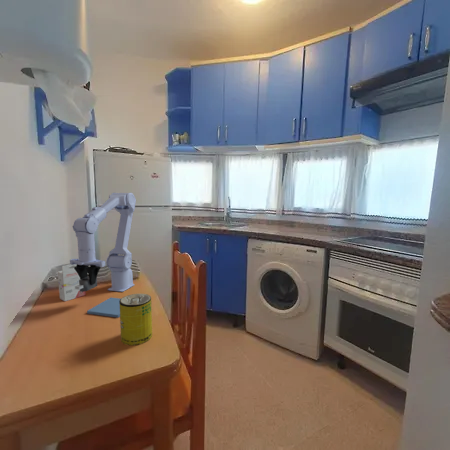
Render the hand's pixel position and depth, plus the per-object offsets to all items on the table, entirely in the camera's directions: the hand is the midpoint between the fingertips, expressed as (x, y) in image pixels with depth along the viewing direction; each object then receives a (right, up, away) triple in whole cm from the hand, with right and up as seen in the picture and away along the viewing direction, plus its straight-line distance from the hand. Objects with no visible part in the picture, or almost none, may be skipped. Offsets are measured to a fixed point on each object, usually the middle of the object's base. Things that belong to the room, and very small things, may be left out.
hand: (88, 283), depth 103 cm
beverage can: (+26, -12, -22) cm, 36 cm away
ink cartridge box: (-11, -8, +9) cm, 17 cm away
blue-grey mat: (+11, -9, -2) cm, 14 cm away
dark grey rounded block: (0, -2, 0) cm, 2 cm away
